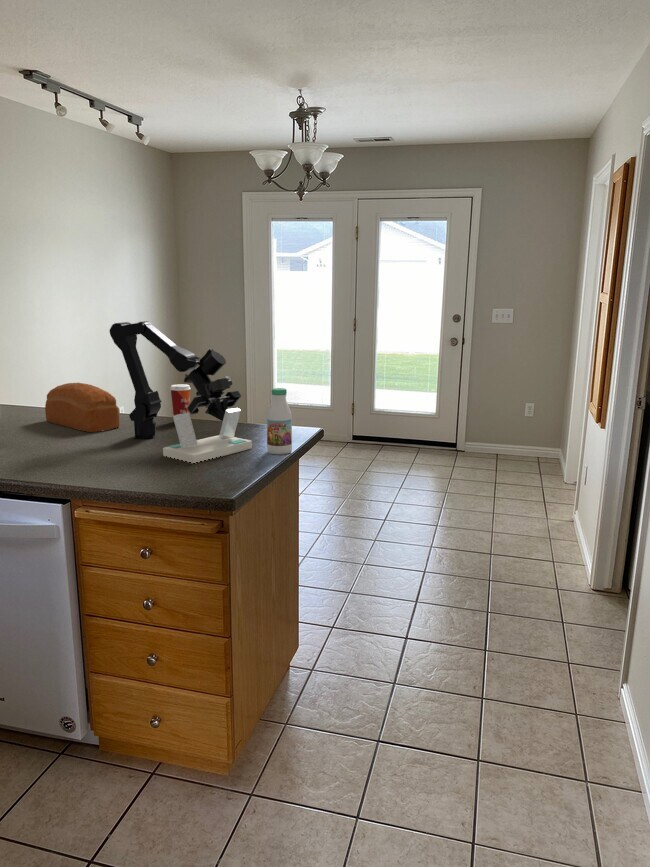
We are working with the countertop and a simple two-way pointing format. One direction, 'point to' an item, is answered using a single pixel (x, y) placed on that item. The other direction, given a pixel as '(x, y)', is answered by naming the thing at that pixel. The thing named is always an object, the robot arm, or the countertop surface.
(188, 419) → the left lever
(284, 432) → the milk bottle
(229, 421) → the right lever
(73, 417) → the bread
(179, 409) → the paper cup
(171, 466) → the countertop surface
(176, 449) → the switch panel
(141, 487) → the countertop surface
